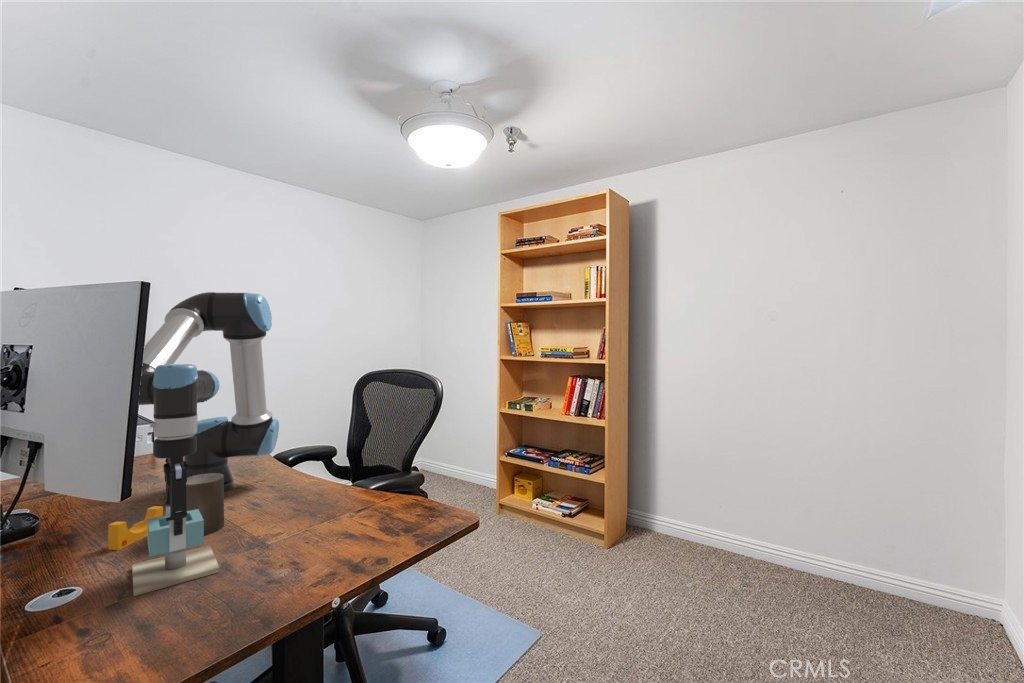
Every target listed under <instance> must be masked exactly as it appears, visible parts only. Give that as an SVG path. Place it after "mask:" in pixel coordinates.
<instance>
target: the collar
mask: <svg viewBox="0 0 1024 683" xmlns="http://www.w3.org/2000/svg"><path fill="white" fill-rule="evenodd" d="M167 517H170V515H166V514H165V515H163V516H160V517H155V518H150V519H148V536H146V537H147V541H146V542H147V548H148V557H149V558H151V557H155V556H159V555H163V554H164V555H165V553H168V552H169V521H166V518H167ZM204 539H205V536H204V520H203V518H202V516H201V514H200V511H199V509H196V510H191V511H187V517H186V549H188V548H193V547H196V546H200V545H204V543H205V542H204V541H205V540H204Z"/></svg>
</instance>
